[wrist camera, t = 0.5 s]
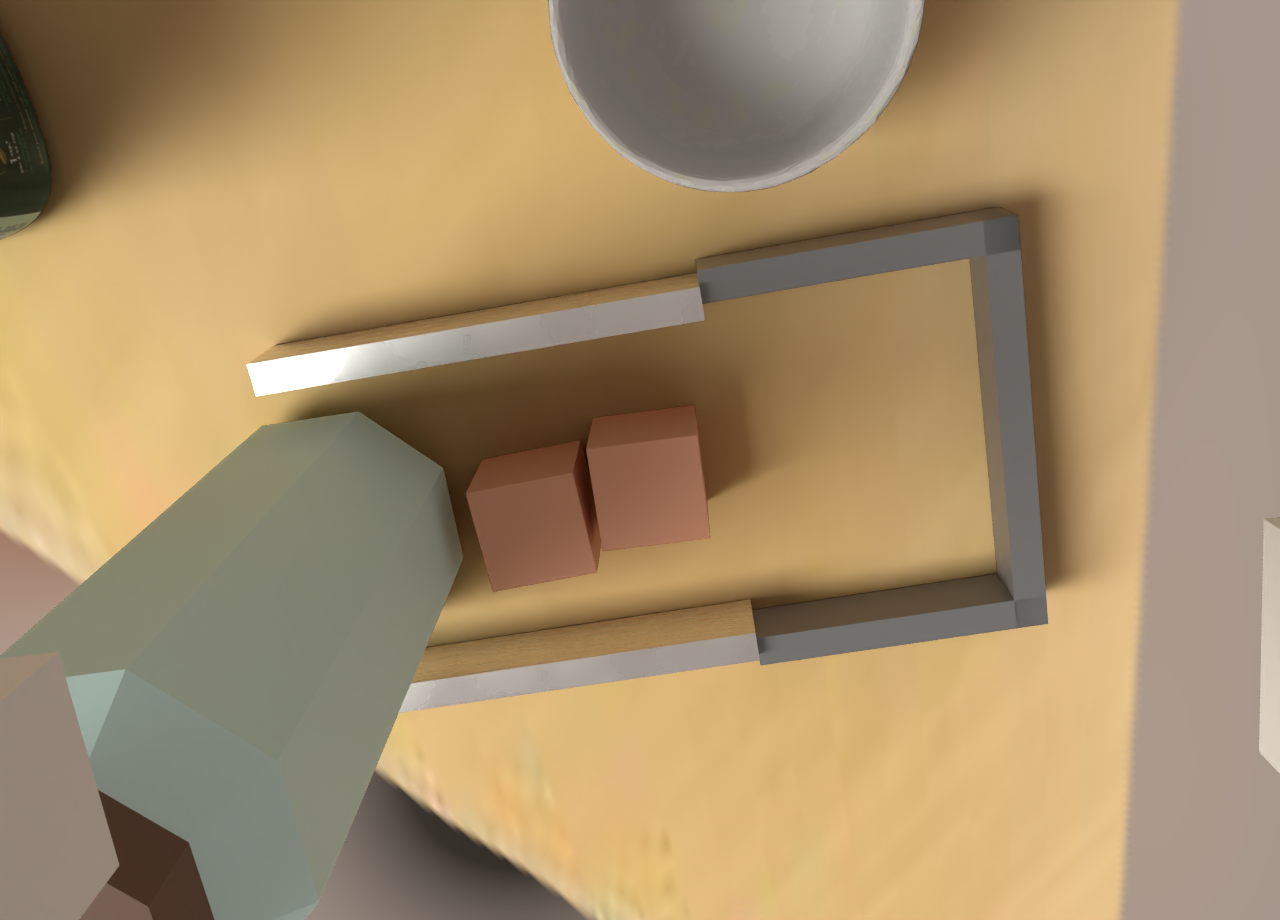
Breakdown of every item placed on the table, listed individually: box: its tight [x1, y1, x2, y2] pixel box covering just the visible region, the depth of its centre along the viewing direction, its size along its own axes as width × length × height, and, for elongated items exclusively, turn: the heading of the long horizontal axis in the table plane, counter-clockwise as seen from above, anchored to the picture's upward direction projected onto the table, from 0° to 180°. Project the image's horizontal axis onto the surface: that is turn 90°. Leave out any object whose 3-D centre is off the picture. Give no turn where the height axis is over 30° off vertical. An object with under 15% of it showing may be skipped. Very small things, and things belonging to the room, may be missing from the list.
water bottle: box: [0, 411, 463, 920], centre depth 35 cm, size 10×10×25 cm
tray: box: [695, 207, 1048, 665], centre depth 44 cm, size 11×16×2 cm
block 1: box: [466, 440, 601, 592], centre depth 45 cm, size 4×4×4 cm
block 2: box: [586, 405, 710, 551], centre depth 44 cm, size 4×4×4 cm
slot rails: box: [247, 273, 760, 713], centre depth 45 cm, size 16×15×3 cm
